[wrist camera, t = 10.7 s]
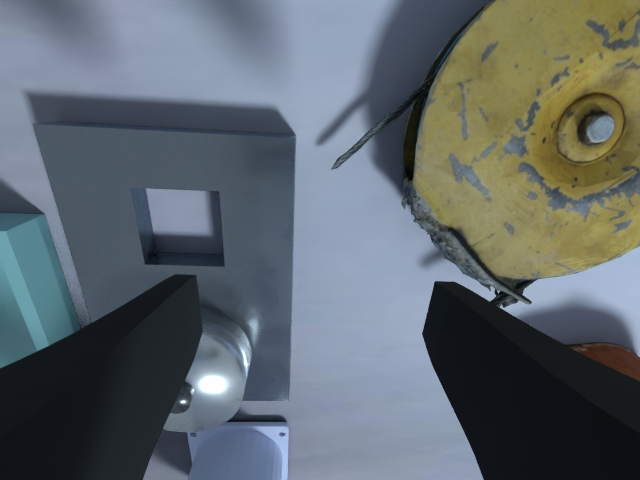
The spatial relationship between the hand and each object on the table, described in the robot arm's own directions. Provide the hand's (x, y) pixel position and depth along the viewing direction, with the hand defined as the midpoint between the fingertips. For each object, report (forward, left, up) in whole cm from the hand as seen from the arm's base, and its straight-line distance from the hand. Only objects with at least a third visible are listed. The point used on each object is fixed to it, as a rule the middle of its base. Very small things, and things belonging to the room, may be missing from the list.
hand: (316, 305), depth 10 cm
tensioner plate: (-5, +7, -9) cm, 13 cm away
